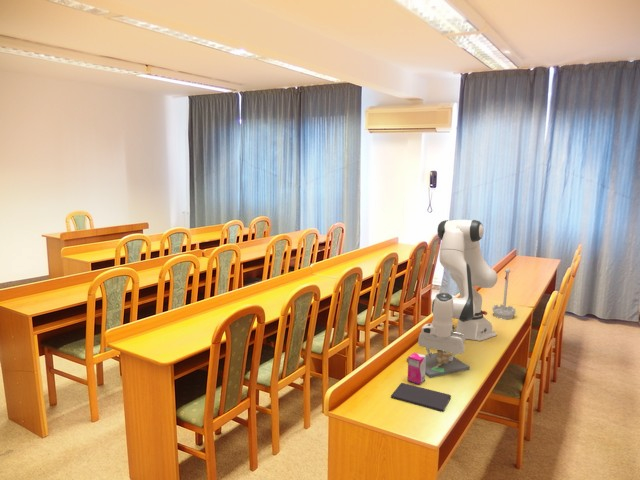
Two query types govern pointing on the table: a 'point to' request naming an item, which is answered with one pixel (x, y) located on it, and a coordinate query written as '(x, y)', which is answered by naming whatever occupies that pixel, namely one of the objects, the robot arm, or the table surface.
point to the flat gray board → (443, 366)
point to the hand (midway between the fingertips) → (440, 358)
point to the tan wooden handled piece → (442, 358)
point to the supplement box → (416, 368)
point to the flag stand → (504, 303)
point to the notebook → (421, 397)
